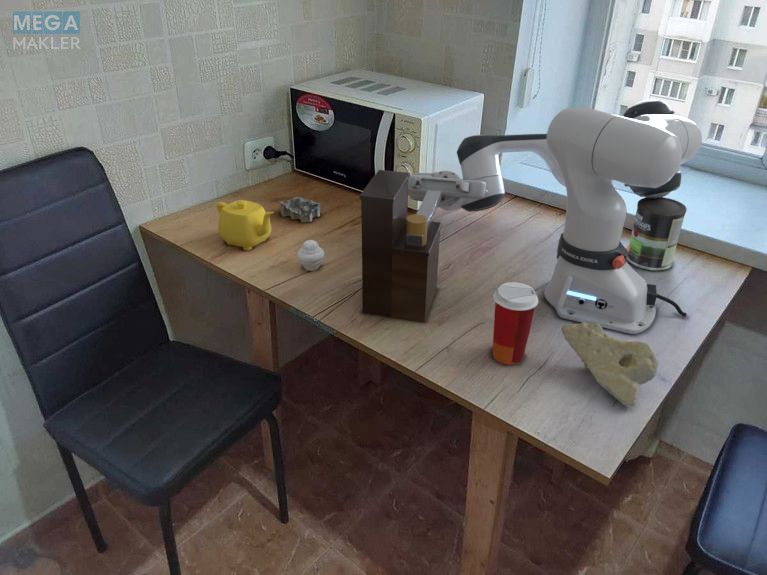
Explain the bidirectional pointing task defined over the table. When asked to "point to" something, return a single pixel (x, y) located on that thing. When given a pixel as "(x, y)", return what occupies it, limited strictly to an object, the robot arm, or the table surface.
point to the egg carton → (300, 209)
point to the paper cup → (512, 321)
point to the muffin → (310, 255)
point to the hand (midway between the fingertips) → (437, 182)
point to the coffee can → (655, 233)
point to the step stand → (395, 252)
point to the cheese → (613, 360)
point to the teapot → (243, 223)
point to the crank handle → (422, 220)
